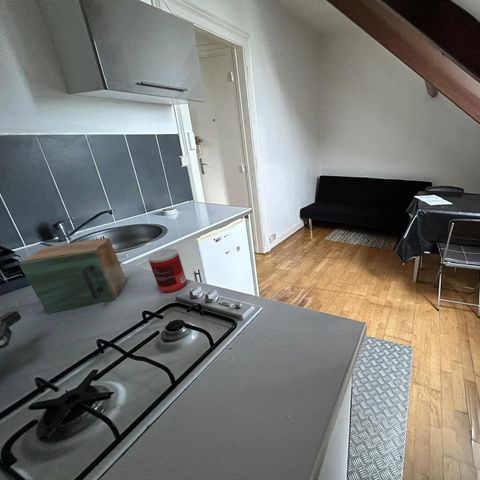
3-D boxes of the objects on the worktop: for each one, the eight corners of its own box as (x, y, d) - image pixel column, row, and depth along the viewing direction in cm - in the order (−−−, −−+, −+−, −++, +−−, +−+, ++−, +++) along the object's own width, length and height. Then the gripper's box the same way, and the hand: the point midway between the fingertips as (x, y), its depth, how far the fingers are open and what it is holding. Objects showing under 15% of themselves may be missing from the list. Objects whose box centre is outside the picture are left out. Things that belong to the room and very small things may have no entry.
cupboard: (116, 298, 76) (95, 249, 70) (49, 312, 71) (21, 261, 65) (127, 281, 84) (109, 237, 78) (68, 293, 80) (44, 247, 74)
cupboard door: (109, 307, 71) (86, 258, 65) (37, 323, 67) (6, 271, 61) (115, 298, 76) (95, 250, 70) (48, 312, 71) (20, 262, 65)
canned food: (182, 277, 85) (172, 246, 81) (191, 285, 80) (181, 253, 76) (156, 286, 80) (144, 254, 76) (163, 296, 75) (152, 263, 71)
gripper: (-64, 363, 40) (39, 297, 56) (-157, 372, 40) (-26, 303, 55) (-35, 396, 43) (55, 325, 59) (-122, 405, 42) (-7, 331, 58)
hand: (15, 314), depth 57 cm, fingers closed
